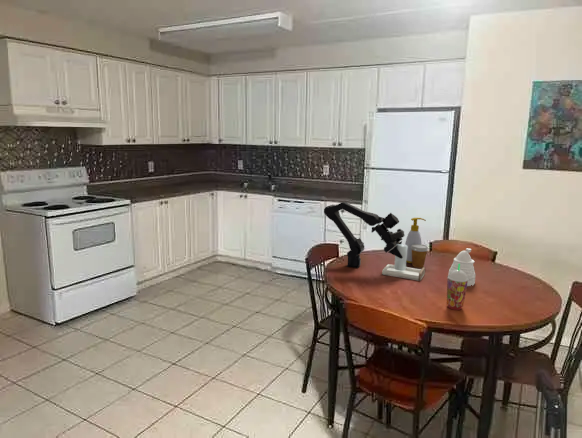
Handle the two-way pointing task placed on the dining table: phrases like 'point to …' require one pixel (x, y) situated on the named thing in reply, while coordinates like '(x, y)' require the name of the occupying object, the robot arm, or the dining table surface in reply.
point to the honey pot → (465, 265)
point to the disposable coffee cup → (418, 255)
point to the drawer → (404, 272)
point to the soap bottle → (413, 239)
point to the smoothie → (456, 289)
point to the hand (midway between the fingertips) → (403, 256)
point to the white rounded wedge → (400, 263)
